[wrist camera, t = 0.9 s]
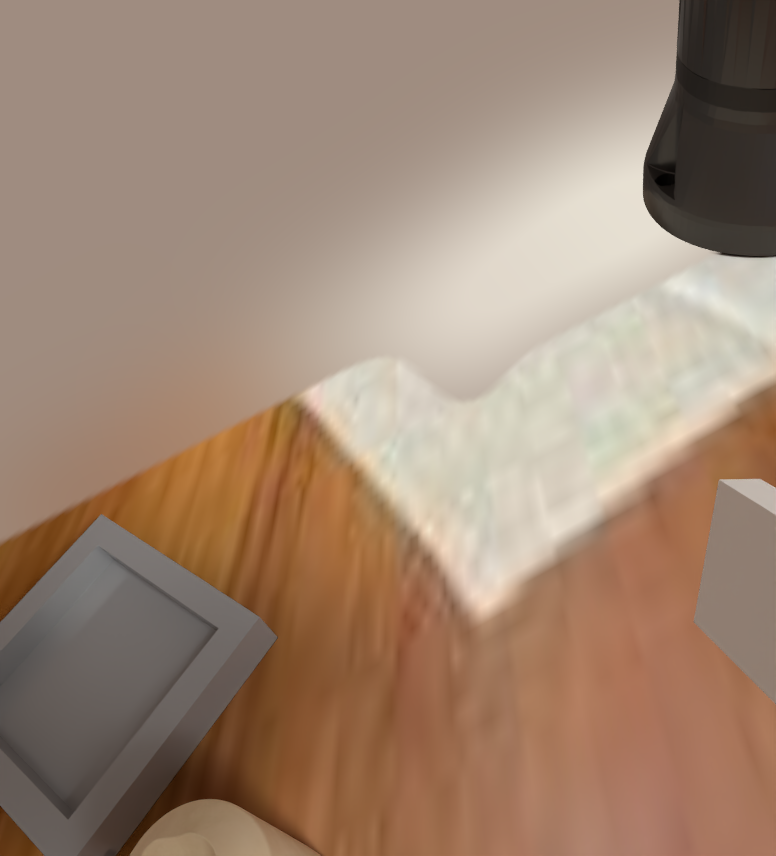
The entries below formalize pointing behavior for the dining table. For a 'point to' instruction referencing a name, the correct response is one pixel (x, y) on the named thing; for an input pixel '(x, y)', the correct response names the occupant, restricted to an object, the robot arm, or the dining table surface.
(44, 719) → the charcoal dish
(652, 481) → the dining table surface
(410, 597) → the dining table surface
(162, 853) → the candle
